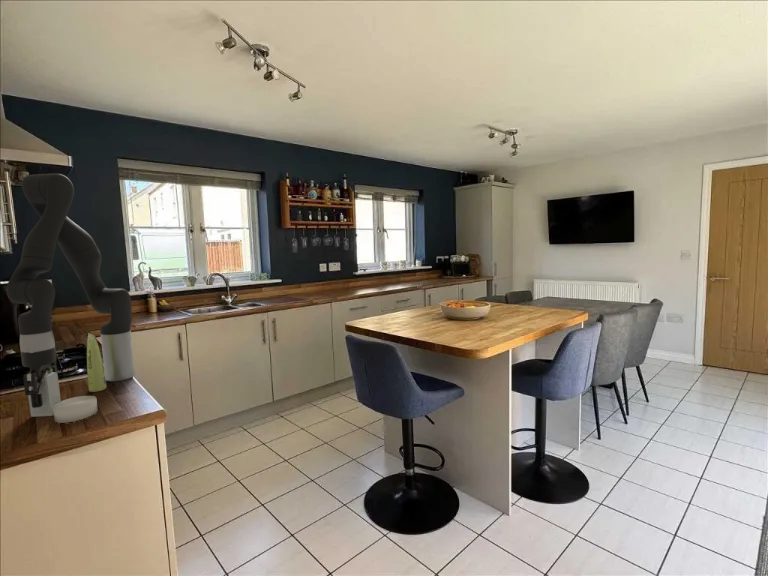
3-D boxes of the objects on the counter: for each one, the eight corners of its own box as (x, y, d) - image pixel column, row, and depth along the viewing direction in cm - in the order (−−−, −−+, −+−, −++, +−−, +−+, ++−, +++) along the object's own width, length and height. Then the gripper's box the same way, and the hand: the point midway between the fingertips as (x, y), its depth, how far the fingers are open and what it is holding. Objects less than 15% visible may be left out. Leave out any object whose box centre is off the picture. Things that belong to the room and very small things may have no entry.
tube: (83, 392, 134) (76, 335, 131) (94, 386, 139) (88, 332, 136) (100, 392, 134) (94, 335, 131) (110, 386, 139) (104, 331, 136)
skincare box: (62, 410, 120) (58, 371, 118) (51, 416, 116) (46, 376, 114) (42, 410, 120) (37, 372, 118) (30, 417, 116) (24, 377, 114)
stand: (63, 411, 119) (61, 398, 119) (102, 406, 122) (101, 393, 122) (48, 426, 110) (46, 412, 109) (91, 420, 113) (89, 406, 113)
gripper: (34, 343, 121) (40, 394, 123) (8, 355, 107) (15, 413, 109) (63, 340, 123) (69, 391, 125) (42, 352, 110) (49, 409, 112)
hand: (44, 401), depth 117 cm, fingers open, 8 cm apart
